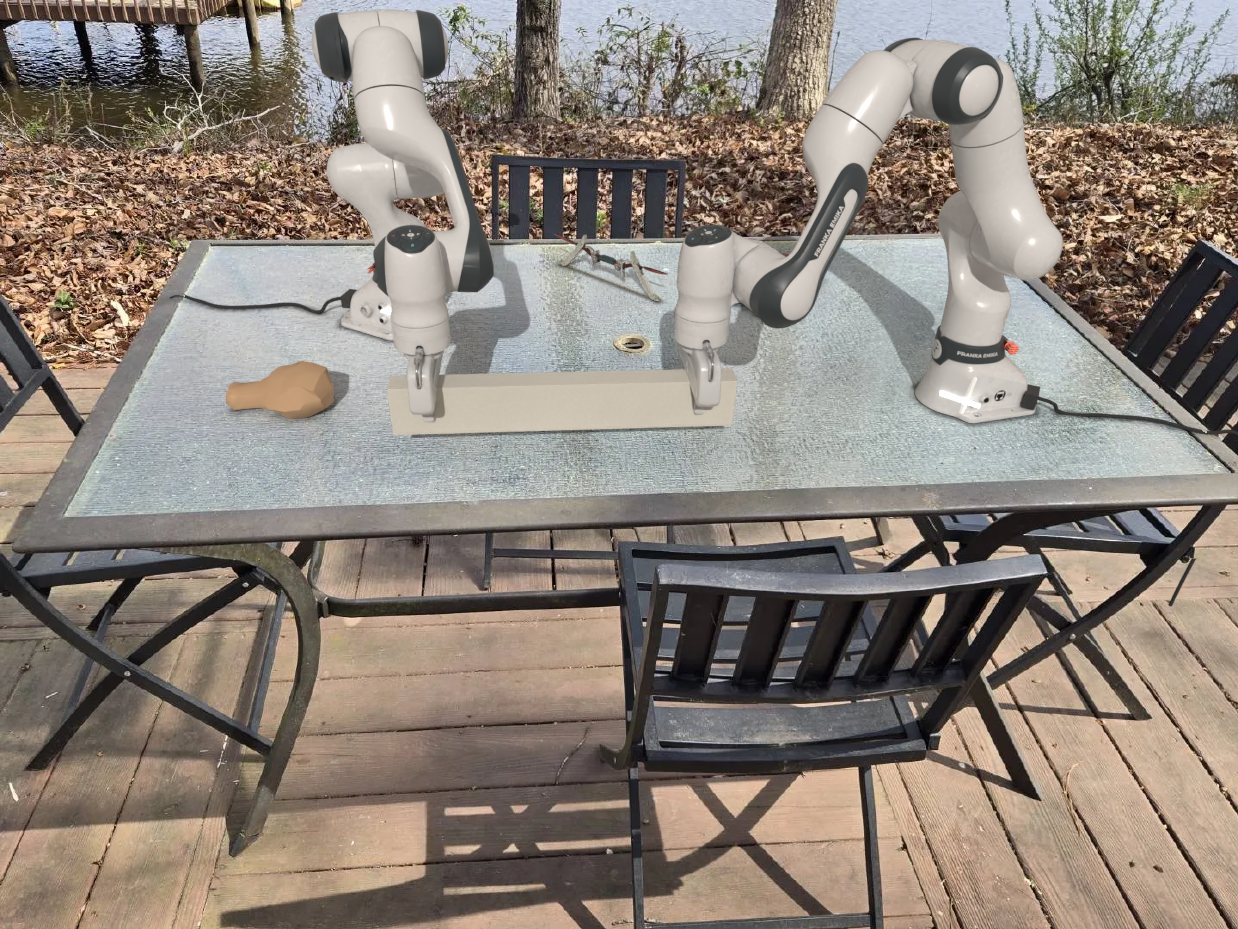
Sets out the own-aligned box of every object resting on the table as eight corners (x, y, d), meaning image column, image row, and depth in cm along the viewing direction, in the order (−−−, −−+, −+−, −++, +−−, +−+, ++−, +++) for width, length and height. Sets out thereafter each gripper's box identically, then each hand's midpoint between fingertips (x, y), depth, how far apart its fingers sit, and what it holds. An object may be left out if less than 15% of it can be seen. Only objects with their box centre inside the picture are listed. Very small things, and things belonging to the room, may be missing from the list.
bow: (669, 303, 208) (671, 262, 203) (664, 305, 207) (666, 264, 202) (556, 260, 230) (555, 222, 224) (551, 262, 228) (550, 224, 223)
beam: (393, 435, 144) (386, 389, 139) (396, 420, 147) (390, 375, 143) (732, 425, 149) (737, 380, 145) (727, 411, 153) (732, 368, 148)
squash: (333, 425, 159) (316, 386, 153) (227, 433, 161) (206, 395, 155) (347, 387, 167) (331, 349, 161) (246, 396, 169) (227, 358, 162)
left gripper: (437, 363, 128) (445, 443, 136) (446, 306, 145) (453, 380, 153) (393, 365, 128) (404, 444, 136) (407, 307, 145) (416, 381, 152)
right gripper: (734, 357, 133) (726, 434, 141) (709, 302, 150) (703, 374, 157) (693, 358, 132) (687, 436, 140) (672, 303, 149) (668, 375, 157)
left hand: (430, 410), depth 144 cm, fingers closed on beam, 4 cm apart
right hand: (695, 402), depth 149 cm, fingers closed on beam, 4 cm apart
